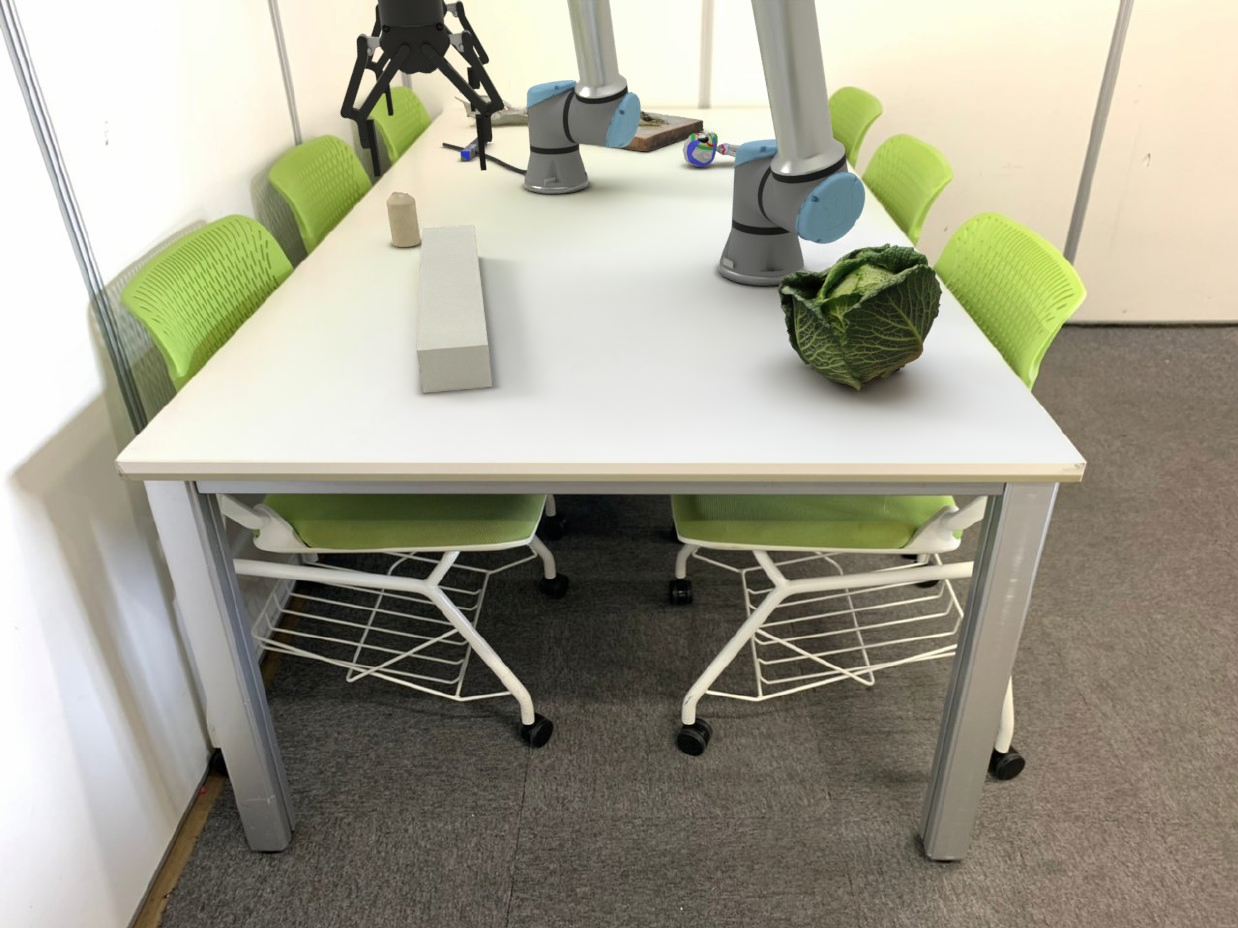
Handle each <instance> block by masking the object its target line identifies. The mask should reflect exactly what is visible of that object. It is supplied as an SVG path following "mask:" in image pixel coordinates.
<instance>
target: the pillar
mask: <svg viewBox="0 0 1238 928" xmlns="http://www.w3.org/2000/svg"><path fill="white" fill-rule="evenodd" d="M488 143H489V142H484V147H485V146H486V145H488ZM463 148H464V149H463V150H462V151H461V150H460V161H462V162H463V161H468V162H470V161H471V160H472V159H473V158H474V157H475V156H477V155H476V154H475V151H478V152H479V149H478V138H477V137H475V138H474V139H473V140H472V141H471V142H470V143H468V145H466V146H465V147H463Z"/></svg>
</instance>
